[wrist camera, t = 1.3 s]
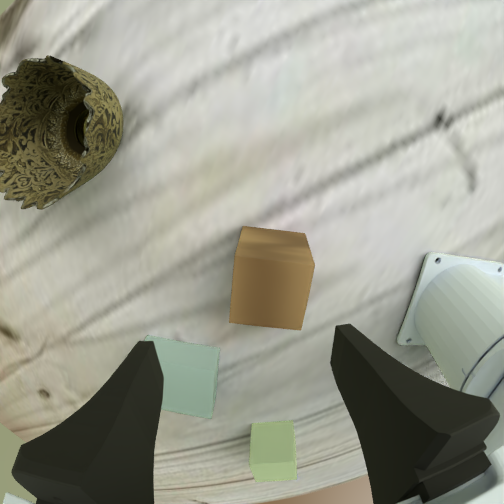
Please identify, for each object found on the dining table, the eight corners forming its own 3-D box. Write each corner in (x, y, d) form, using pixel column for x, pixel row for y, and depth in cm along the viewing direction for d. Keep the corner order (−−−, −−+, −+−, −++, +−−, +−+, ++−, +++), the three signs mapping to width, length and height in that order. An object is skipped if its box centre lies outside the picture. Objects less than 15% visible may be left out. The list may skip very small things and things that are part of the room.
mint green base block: (220, 345, 24) (214, 370, 21) (216, 394, 26) (211, 419, 24) (148, 332, 24) (136, 355, 21) (153, 382, 26) (143, 405, 24)
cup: (106, 202, 20) (35, 242, 13) (46, 136, 18) (-33, 151, 11) (175, 119, 18) (117, 115, 10) (105, 54, 16) (30, 30, 9)
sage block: (292, 419, 27) (294, 461, 22) (295, 440, 28) (297, 479, 24) (251, 422, 27) (248, 464, 23) (257, 443, 29) (255, 481, 24)
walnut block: (304, 233, 20) (314, 265, 16) (295, 287, 22) (301, 330, 17) (243, 226, 20) (234, 255, 16) (237, 281, 22) (229, 322, 17)
